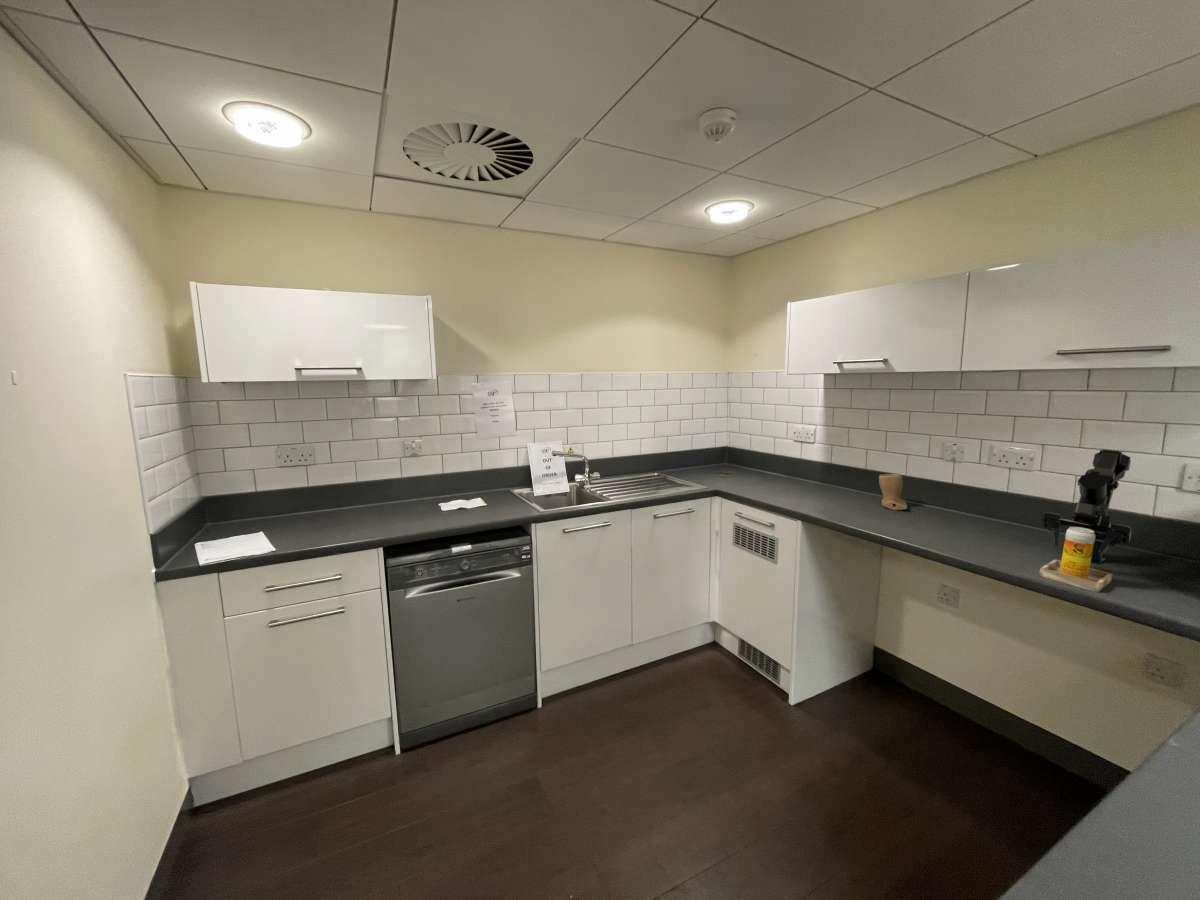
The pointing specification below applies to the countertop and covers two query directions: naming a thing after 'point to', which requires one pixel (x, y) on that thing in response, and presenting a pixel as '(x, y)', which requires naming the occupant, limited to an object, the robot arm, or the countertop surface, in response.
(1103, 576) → the holder tray
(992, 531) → the countertop surface
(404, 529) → the countertop surface
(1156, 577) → the countertop surface
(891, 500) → the tan boot
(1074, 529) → the yellow orange canister
